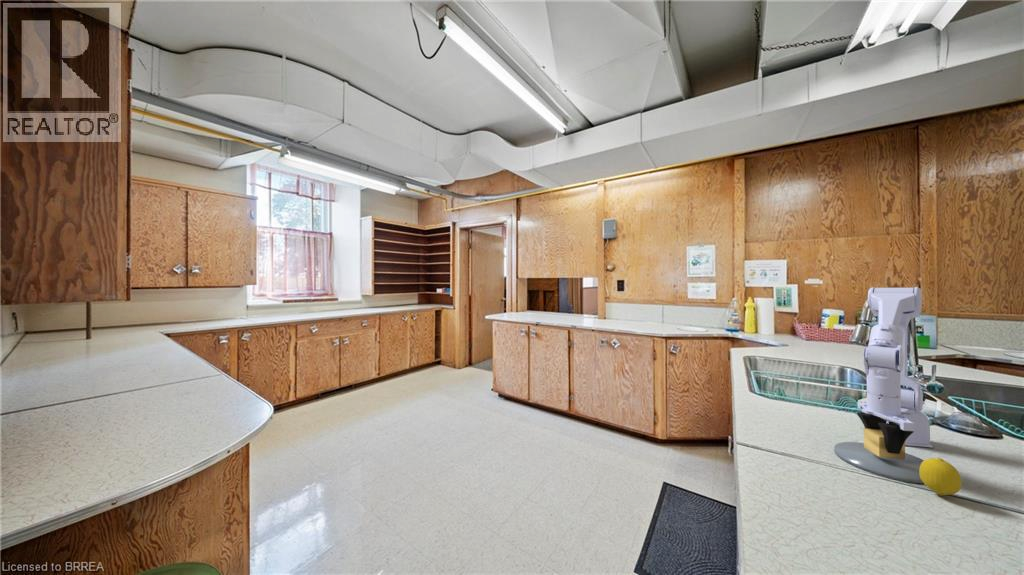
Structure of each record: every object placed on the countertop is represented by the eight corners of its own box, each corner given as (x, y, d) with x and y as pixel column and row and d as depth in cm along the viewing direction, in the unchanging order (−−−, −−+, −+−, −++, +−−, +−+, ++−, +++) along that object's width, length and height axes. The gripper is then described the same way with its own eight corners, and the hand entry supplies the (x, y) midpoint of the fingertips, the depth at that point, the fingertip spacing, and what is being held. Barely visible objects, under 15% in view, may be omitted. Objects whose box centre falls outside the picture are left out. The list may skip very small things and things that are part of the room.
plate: (898, 449, 90) (898, 446, 90) (969, 489, 72) (969, 484, 72) (818, 442, 94) (818, 438, 94) (866, 478, 77) (866, 473, 77)
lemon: (971, 505, 67) (970, 466, 67) (937, 502, 68) (937, 463, 68) (941, 488, 73) (941, 452, 73) (911, 486, 74) (910, 450, 74)
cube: (888, 449, 85) (887, 430, 85) (905, 459, 80) (905, 438, 80) (863, 447, 86) (863, 428, 86) (879, 456, 82) (879, 436, 82)
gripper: (843, 384, 91) (844, 433, 91) (886, 402, 77) (887, 460, 77) (875, 386, 89) (876, 435, 89) (926, 404, 75) (926, 464, 75)
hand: (883, 447), depth 83 cm, fingers closed on cube, 5 cm apart
